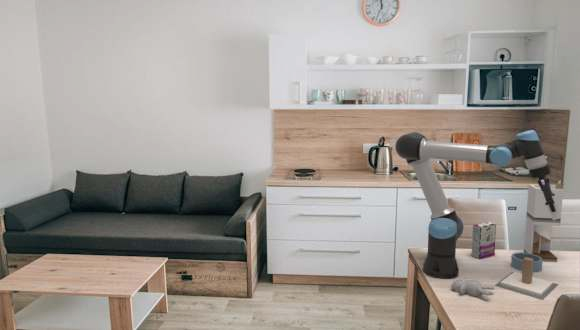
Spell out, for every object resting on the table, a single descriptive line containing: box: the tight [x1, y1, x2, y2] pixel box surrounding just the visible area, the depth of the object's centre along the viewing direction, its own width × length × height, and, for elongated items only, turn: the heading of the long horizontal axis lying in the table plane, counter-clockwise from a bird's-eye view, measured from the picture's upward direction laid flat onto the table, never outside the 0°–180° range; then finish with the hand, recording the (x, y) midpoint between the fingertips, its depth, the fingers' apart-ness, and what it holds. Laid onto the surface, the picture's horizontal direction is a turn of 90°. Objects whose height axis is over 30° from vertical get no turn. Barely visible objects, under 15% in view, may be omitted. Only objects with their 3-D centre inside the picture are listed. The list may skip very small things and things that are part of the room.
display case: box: [523, 183, 564, 263], centre depth 206 cm, size 11×11×35 cm
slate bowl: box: [510, 251, 544, 273], centre depth 195 cm, size 12×12×6 cm
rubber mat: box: [493, 271, 560, 301], centre depth 176 cm, size 20×18×1 cm
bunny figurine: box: [450, 279, 495, 297], centre depth 171 cm, size 10×5×15 cm
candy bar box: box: [471, 221, 497, 260], centre depth 210 cm, size 11×5×16 cm, turn 117°
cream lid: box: [499, 257, 554, 297], centre depth 176 cm, size 15×15×11 cm
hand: (556, 215), depth 177 cm, fingers open, 13 cm apart
